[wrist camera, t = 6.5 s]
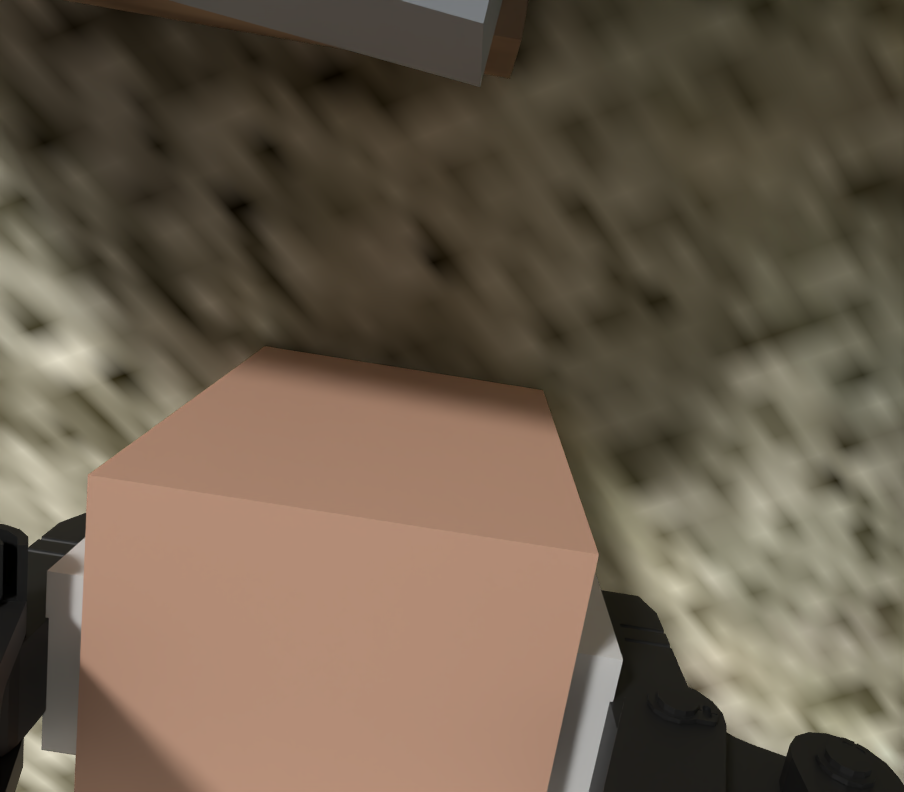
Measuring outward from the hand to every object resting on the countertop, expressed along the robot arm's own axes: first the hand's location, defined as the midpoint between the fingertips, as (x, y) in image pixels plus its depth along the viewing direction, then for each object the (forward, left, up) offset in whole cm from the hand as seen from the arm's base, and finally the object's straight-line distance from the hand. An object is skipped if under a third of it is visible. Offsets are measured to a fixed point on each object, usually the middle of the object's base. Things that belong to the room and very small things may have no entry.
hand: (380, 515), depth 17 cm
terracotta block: (0, 0, -1) cm, 1 cm away
